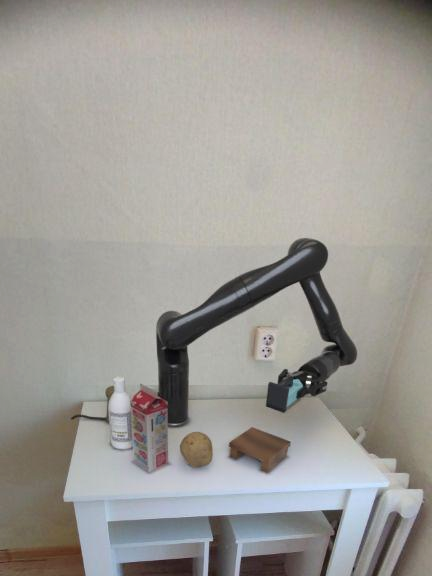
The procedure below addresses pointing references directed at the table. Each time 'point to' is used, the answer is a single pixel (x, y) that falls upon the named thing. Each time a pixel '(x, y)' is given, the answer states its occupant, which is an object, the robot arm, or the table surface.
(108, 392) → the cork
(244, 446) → the stand
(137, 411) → the milk carton
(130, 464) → the table surface
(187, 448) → the natural sponge
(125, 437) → the bath foam
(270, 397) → the iron
